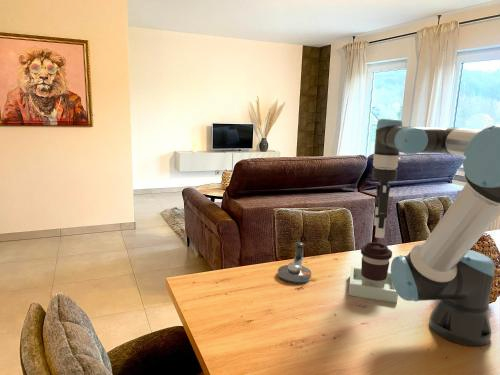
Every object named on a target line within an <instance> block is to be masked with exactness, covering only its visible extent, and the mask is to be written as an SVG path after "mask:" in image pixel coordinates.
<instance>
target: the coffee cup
mask: <svg viewBox="0 0 500 375" xmlns="http://www.w3.org/2000/svg"><path fill="white" fill-rule="evenodd" d="M360 253H361V256H362V257H361V267H360V268H361V274H362V285H365V286H372V287H378V288H384V285H385V279H386V278H387V273H388V272H389V267H390V259H392V257H393V251H392V250H391V249H389V247H388V245H386V244H384V243H380V242H375V241H373V242H367V243H366V244H365V245H363V246H362V247H361V248H360Z"/></svg>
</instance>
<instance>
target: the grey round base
mask: <svg viewBox="0 0 500 375" xmlns="http://www.w3.org/2000/svg"><path fill="white" fill-rule="evenodd" d="M277 278H278V279H279V280H280V281H282V282H284V283H285V284H286V283H287V284H290V285H302V284H303V285H304V284H307V283H309V282H310V281H313V282H317V279H318V278H314V277H312V271H311V269H309V268H308V267H306V266H303V265H302V272H301V273H298V274H294V273H290V272H288V264H285V265H282V266H280V267H278V269H277Z"/></svg>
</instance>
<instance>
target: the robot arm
mask: <svg viewBox="0 0 500 375" xmlns="http://www.w3.org/2000/svg"><path fill="white" fill-rule="evenodd" d="M373 152H374V153H373V160H372V166H373V168H372V170H371V171H372V173H371V179H372V180H374V181H377V182H378V184H376V193H375V194H376V198H375V210H374V220H373V226H375V234H374V238H377V239H378V238H379V239H385V236H386V235H385V233H386V225H387V223H386V222H387V218H388V206H389V204H388V203H389V197H390V190H391V186H390V185H388V184H389V182H395V181H397V179H398V169H397V168H399V167H398V166H399V162H401V158H400V153H403V154H406V155H409V154H410V155H417V154H446V155H451V156H457V157H463V158H465V159H463V160H462V167H463V168H462V169H463V172H464V174H463V175H464V180H465V182H466V184H465V185H464V186H463V187H462V188H461V190H460V191H459V193H458V194H457V196H456V197H455V199H454V200H453V202H452V203H451V205H450V206H449V207H448V208H447V210H446V212H445V213H444V215H443V216H442V217H441V219H440V220H439V221H438V222H437V224H436V226H435V227H434V228H433V229H432V231H431V233H430V234H429V235H428V237H427V238H426V240H425V241H424V242H421V243H417V244H415V245H414V246H413V247H412V248H411V250H410V251H409V253H408V254H407V255H398V256H395V257H393V259H392V261H391V265H390V272H391V278H392V282H393V285H394V288H395V290H396V292H397V294H398V296H399V297H400V298H401V299H402V300H404V301H408V302H415V303H416V302H420V301H423V302H424V301H437V303H436V304H435V305H434V308H433V309H432V311H431V313H430V316H429V322H428V323H429V326H430V328H431V330H433V331H434V332H435V333H436V334H437V335H439V336H441V337H442V338H443V339H445V340H448V341H450V342H452V343H456V344H458V345H459V344H460V345H462V346H467V347H482V346H486V345H487V344H489V343H490V342H491V337H492V327H491V322H490V317H489V314H488V311H489V304H490V298H491V294H492V289H493V284H494V283H493V282H494V278H495V276H496V275H495V269H496V268H495V267H496V266H495V265H496V263H495V262H494V260H493V259H492V258H491V257H489V256H487V255H485V254H483V253H482V252H481V253H480V252H478V251H475V250H473V249H472V250H471V248H472V247H473V246H474V245H475V244H476V243H477V242H478V241H479V240H480V238H481V237H482V236H483V235H484V234H485V232H486V231H487V230H488V229H489V228H490V227H491V225H493V224H494V222H495V221H496V220H497V219H498V218H499V217H500V124H496V125H491V126H487V127H485V128H483V129H474V128H473V129H470V128H461V127H434V126H433V127H432V126H427V127H426V126H408V125H407V126H403V121H402V120H401V119H398V118H397V119H395V118H392V119H391V118H390V119H389V118H380V119H378V120H377V123H376V128H375V140H374V151H373Z"/></svg>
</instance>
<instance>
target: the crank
mask: <svg viewBox="0 0 500 375" xmlns="http://www.w3.org/2000/svg"><path fill="white" fill-rule="evenodd" d="M294 246H295V253H294V254H295V256H294V258H293V261H292V262H289V263H288V264H287V265H288V272H290V273H294V274H298V273H301V272H302V266H303V265H302V264H303V262H304V247H305V242H301V241H297V242H295V243H294Z"/></svg>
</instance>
